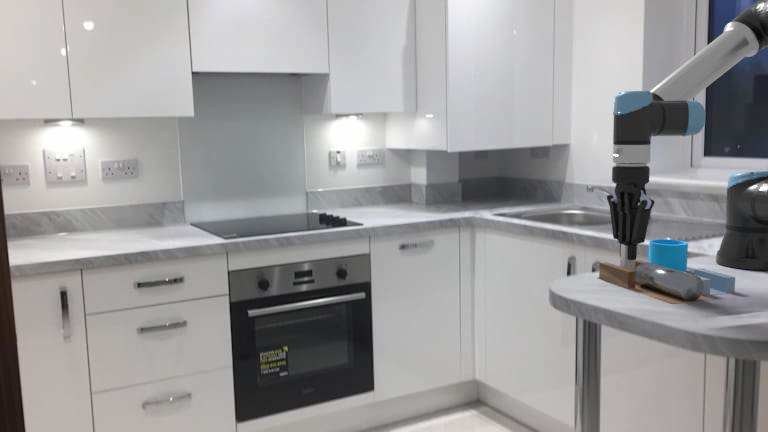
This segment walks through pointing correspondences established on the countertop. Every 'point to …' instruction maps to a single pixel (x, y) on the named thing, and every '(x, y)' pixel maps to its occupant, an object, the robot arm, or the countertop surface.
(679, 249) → the mug
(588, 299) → the countertop surface
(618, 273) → the wooden channel tray
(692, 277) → the axle
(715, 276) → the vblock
